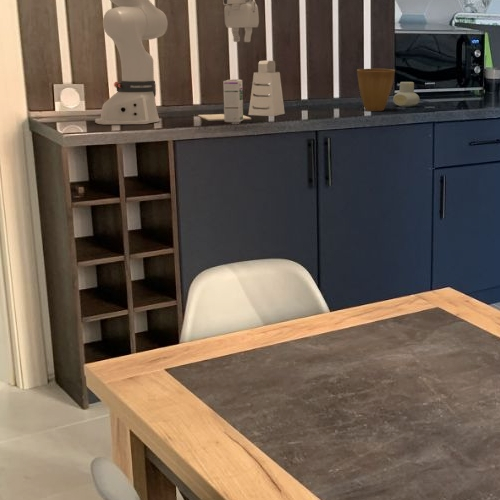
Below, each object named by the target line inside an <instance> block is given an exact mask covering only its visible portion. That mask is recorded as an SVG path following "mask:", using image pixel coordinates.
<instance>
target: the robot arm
mask: <svg viewBox="0 0 500 500" xmlns="http://www.w3.org/2000/svg"><path fill="white" fill-rule="evenodd" d="M109 1H110V2H112V4H114V5H116V6H117V7H113V8H110V9H108V10H107V11H106V12H105V13H104V15H103V19H102V25H103V27H102V28H103V30H104V32H105V34H106V35H107V36H108V37H109V38H110V39H111V40H112V41H113V43H114V44H115V46H116V49H117V51H118V54H119V59H120V67H121V80H120V81H115V82H114V83H113V86H114V88H116V91H117V92H116V93H114V94H113V95H112V96H110V98H108V99H107V100H106V101H105V102H104V103H103V105H102V106H101V111H100V112H101V113H100V116H101V117H97V118H95V119H94V123H96V124H98V125H147V124H151V123H156V122H160V118H159V114H158V109H157V103H156V94H157V89H156V88H157V87H156V86H157V84H156V80H155V72H154V58H153V56H152V55H151V54H150V53H149V52H147V50H146V49H145V46H144V44H143V40H147V41H149V40H155V39H158V38H161V37H163V36H164V35H165V34H166V32H167V31H168V26H169V25H168V23H169V22H168V18H167V15H166V14H165V12H164V11H163V10H161V9H159V8H158V7H157V6H155V5H154V3H153V2H151V1H150V0H109ZM222 4H223V6H224V11H223V13H224V24H225V26H226V27H225V28H227V29H231V34H232V37H233V39H232V41H233V42H235V43H238V42H240V41H241V36H240V34H239V30H240V28H244V36H243V42H244V43H251V38H252V34H253V28H258V27H259V24H260V17H259V6H258V5H257V3H256V0H222Z"/></svg>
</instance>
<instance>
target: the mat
mask: <svg viewBox="0 0 500 500" xmlns="http://www.w3.org/2000/svg"><path fill="white" fill-rule="evenodd" d="M197 117H198V118H201V119H203V120H206V121H209V122H210V121H224V113H219V114H218V113H217V114H216V113H215V114H213V113H212V114H198V115H197ZM245 120H252V117H250V116H246V115H244V114H243V121H245Z"/></svg>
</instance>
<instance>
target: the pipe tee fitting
mask: <svg viewBox="0 0 500 500" xmlns="http://www.w3.org/2000/svg"><path fill="white" fill-rule="evenodd" d="M414 89H415V82H413V81H400V83H399V92H397V93H396V94H394V96H393V98H392V101H393V103H394V104H395V105H397V106H398V107H399V108H408V107H409V108H411V107H414V106H417V105H418V104H419V103H420V96H419V95H418V94H417V93H416V92H415V90H414Z"/></svg>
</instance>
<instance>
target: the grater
mask: <svg viewBox="0 0 500 500" xmlns="http://www.w3.org/2000/svg"><path fill="white" fill-rule="evenodd" d="M257 65H258V67H257V68H258V69H257V70H258V71H256V72H253V76H252V82H251V83H252V85H251V93H250V100H249V107H248V114H247V115H248V116H261V117H262V116H263V117H266V116H267V117H276V116H280V115H284V114H286V112H285V106H284V98H283V89H282V81H281V73H280V71H276V61H275V60H260V61H259V62H258V64H257Z"/></svg>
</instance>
